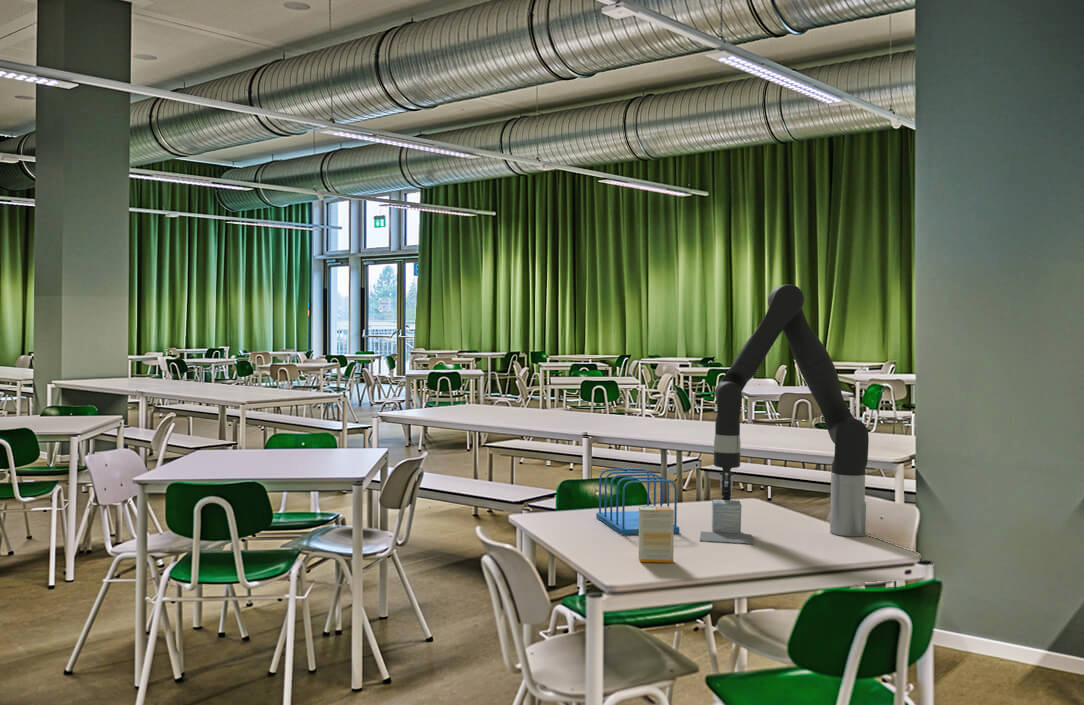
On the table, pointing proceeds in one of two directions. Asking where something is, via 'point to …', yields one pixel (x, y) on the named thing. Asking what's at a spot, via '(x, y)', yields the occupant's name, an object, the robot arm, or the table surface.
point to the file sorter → (626, 519)
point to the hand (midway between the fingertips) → (725, 509)
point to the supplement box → (656, 534)
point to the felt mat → (726, 537)
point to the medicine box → (726, 516)
